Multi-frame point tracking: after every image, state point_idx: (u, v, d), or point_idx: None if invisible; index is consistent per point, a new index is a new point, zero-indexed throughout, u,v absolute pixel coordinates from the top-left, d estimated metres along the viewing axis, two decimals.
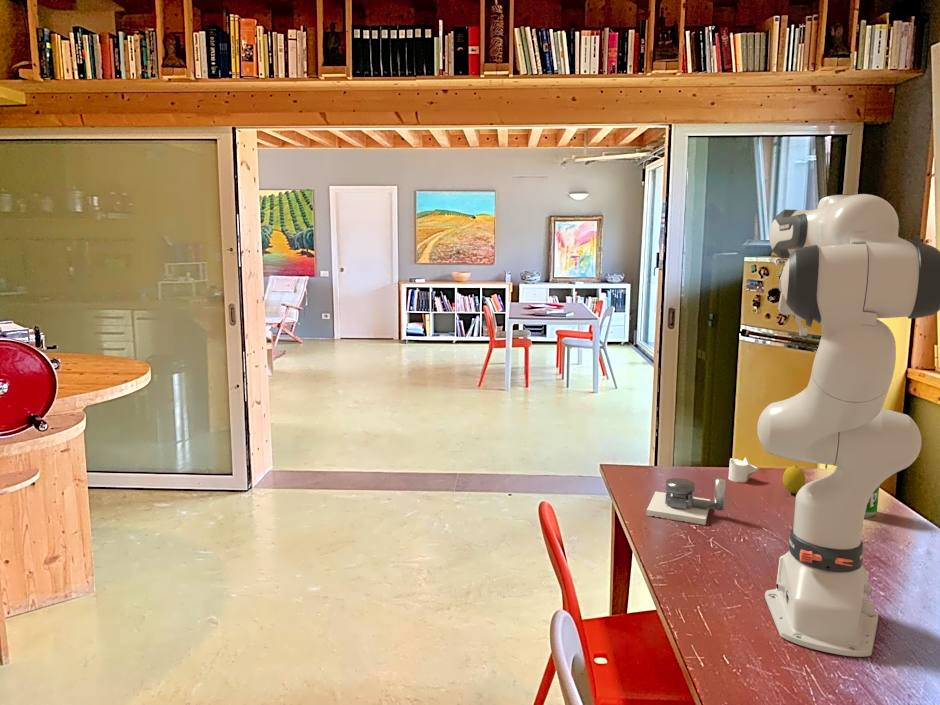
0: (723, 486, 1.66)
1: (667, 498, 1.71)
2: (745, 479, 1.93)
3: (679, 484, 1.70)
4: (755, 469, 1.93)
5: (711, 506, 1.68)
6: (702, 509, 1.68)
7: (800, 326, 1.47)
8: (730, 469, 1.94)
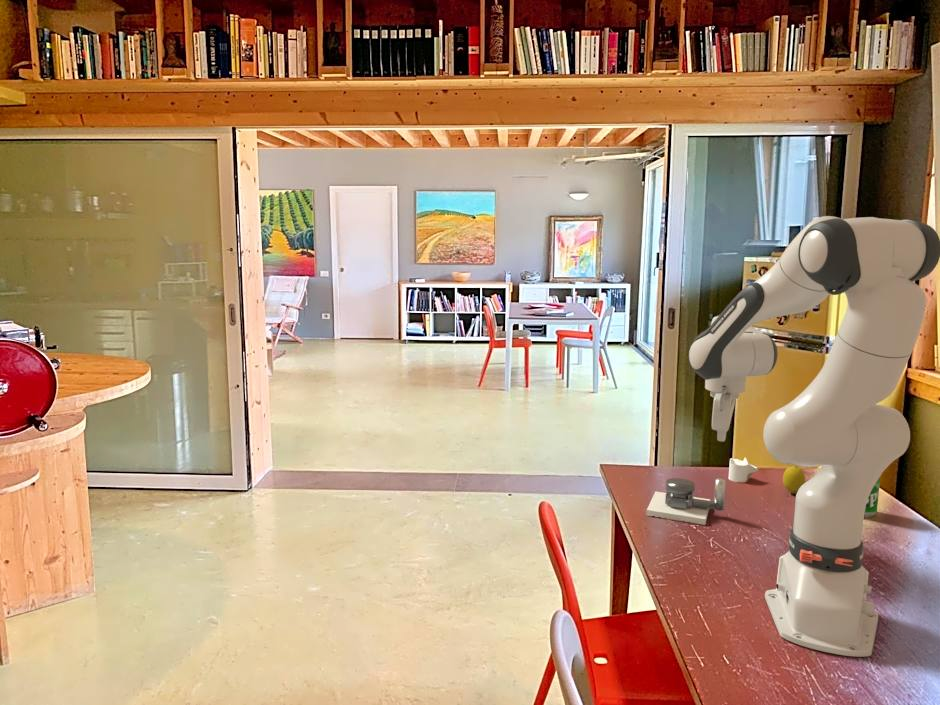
0: (723, 486, 1.66)
1: (667, 498, 1.71)
2: (745, 479, 1.93)
3: (679, 484, 1.70)
4: (755, 469, 1.93)
5: (711, 506, 1.68)
6: (702, 509, 1.68)
7: (725, 433, 1.56)
8: (730, 469, 1.94)
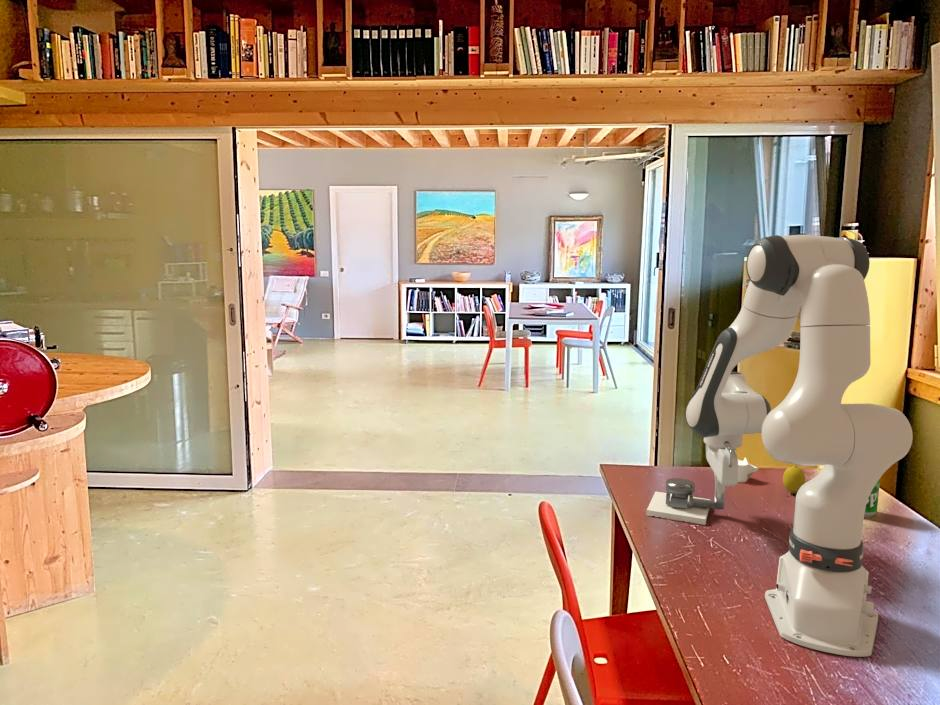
0: None
1: (667, 498, 1.71)
2: (745, 479, 1.93)
3: (679, 484, 1.70)
4: (755, 469, 1.93)
5: (711, 505, 1.68)
6: (702, 509, 1.68)
7: None
8: None
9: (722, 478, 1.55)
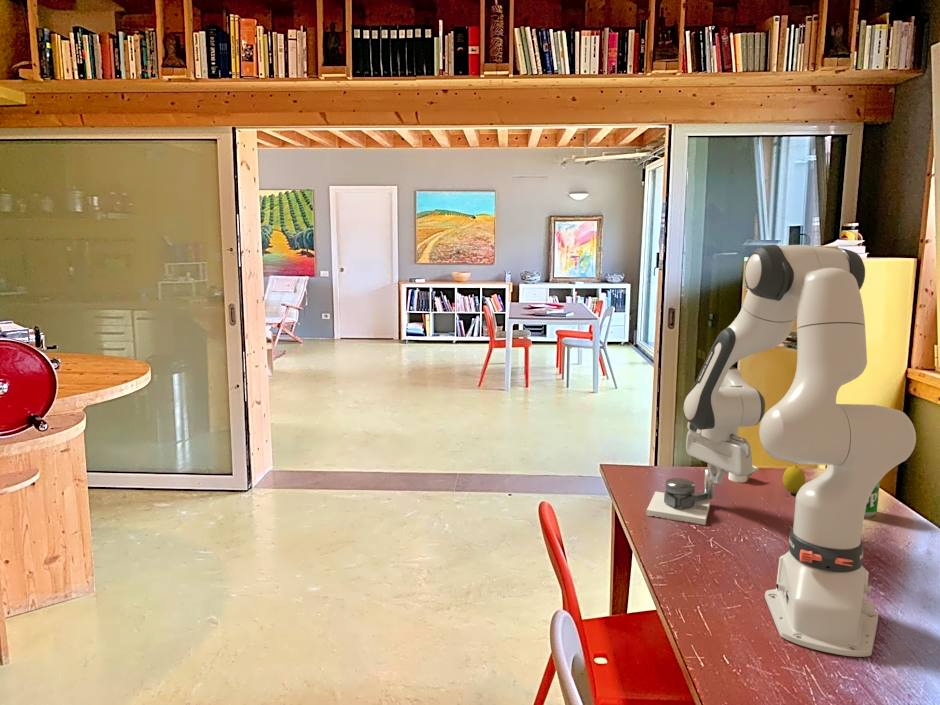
0: None
1: (676, 501, 1.69)
2: (745, 479, 1.93)
3: (682, 484, 1.70)
4: (755, 469, 1.93)
5: (705, 497, 1.74)
6: (702, 509, 1.68)
7: None
8: None
9: (741, 469, 1.61)
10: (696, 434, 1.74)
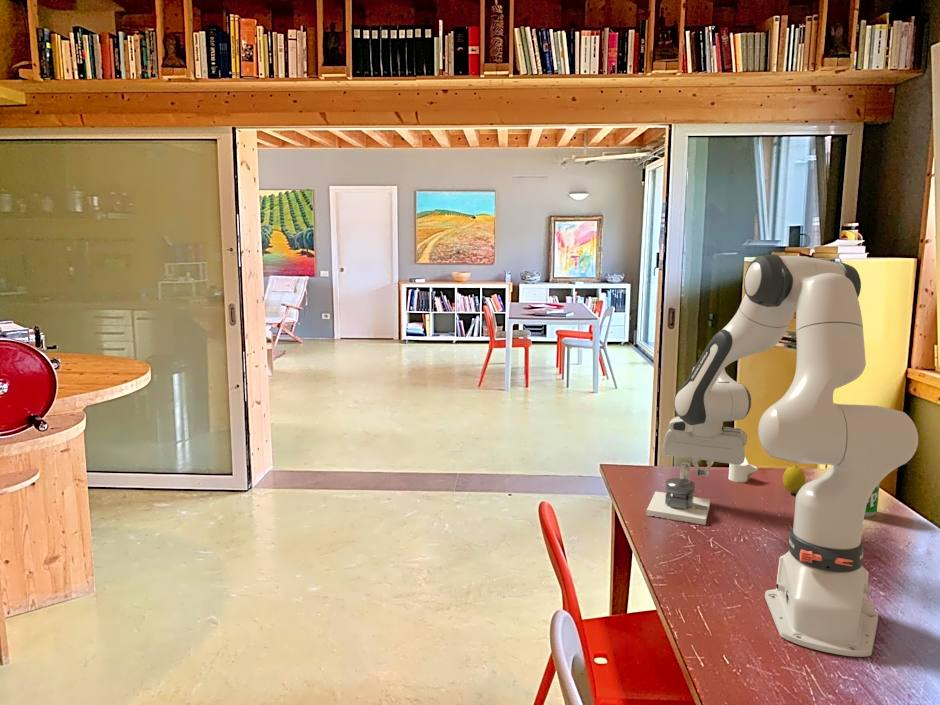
0: None
1: (686, 502, 1.68)
2: (745, 479, 1.93)
3: (684, 483, 1.70)
4: (755, 469, 1.93)
5: None
6: (702, 509, 1.68)
7: None
8: (730, 469, 1.94)
9: (743, 458, 1.71)
10: (682, 433, 1.75)
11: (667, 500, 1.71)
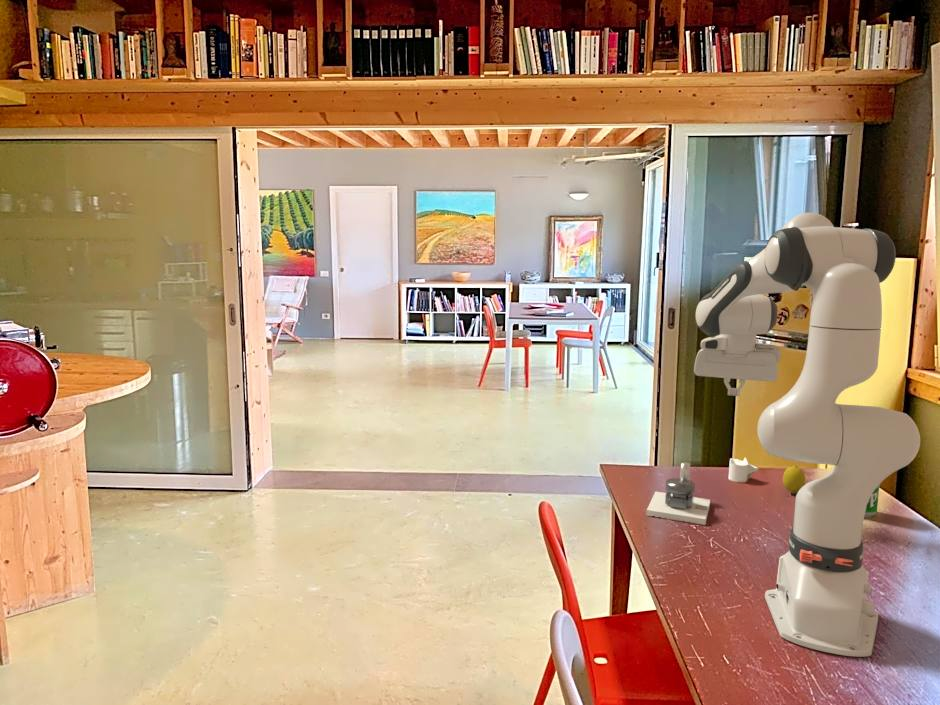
0: None
1: (686, 502, 1.68)
2: (745, 479, 1.93)
3: (684, 483, 1.70)
4: (755, 469, 1.93)
5: None
6: (702, 509, 1.68)
7: None
8: (730, 469, 1.94)
9: (776, 374, 1.68)
10: (714, 351, 1.73)
11: (667, 500, 1.71)
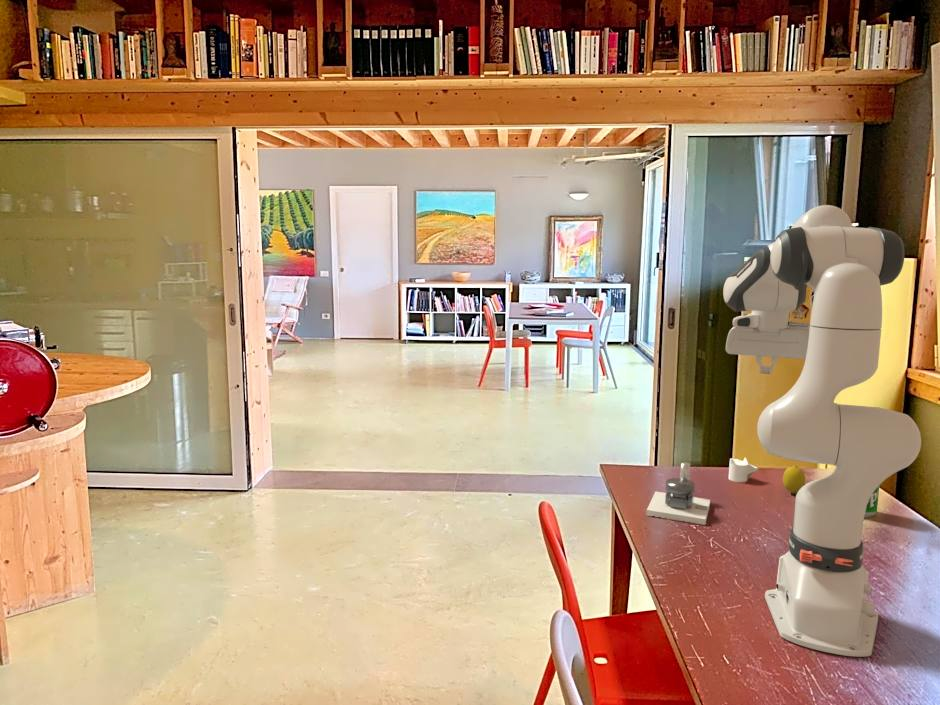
0: None
1: (686, 502, 1.68)
2: (745, 479, 1.93)
3: (684, 483, 1.70)
4: (755, 469, 1.93)
5: None
6: (702, 509, 1.68)
7: None
8: (730, 469, 1.94)
9: None
10: (746, 329, 1.73)
11: (667, 500, 1.71)
